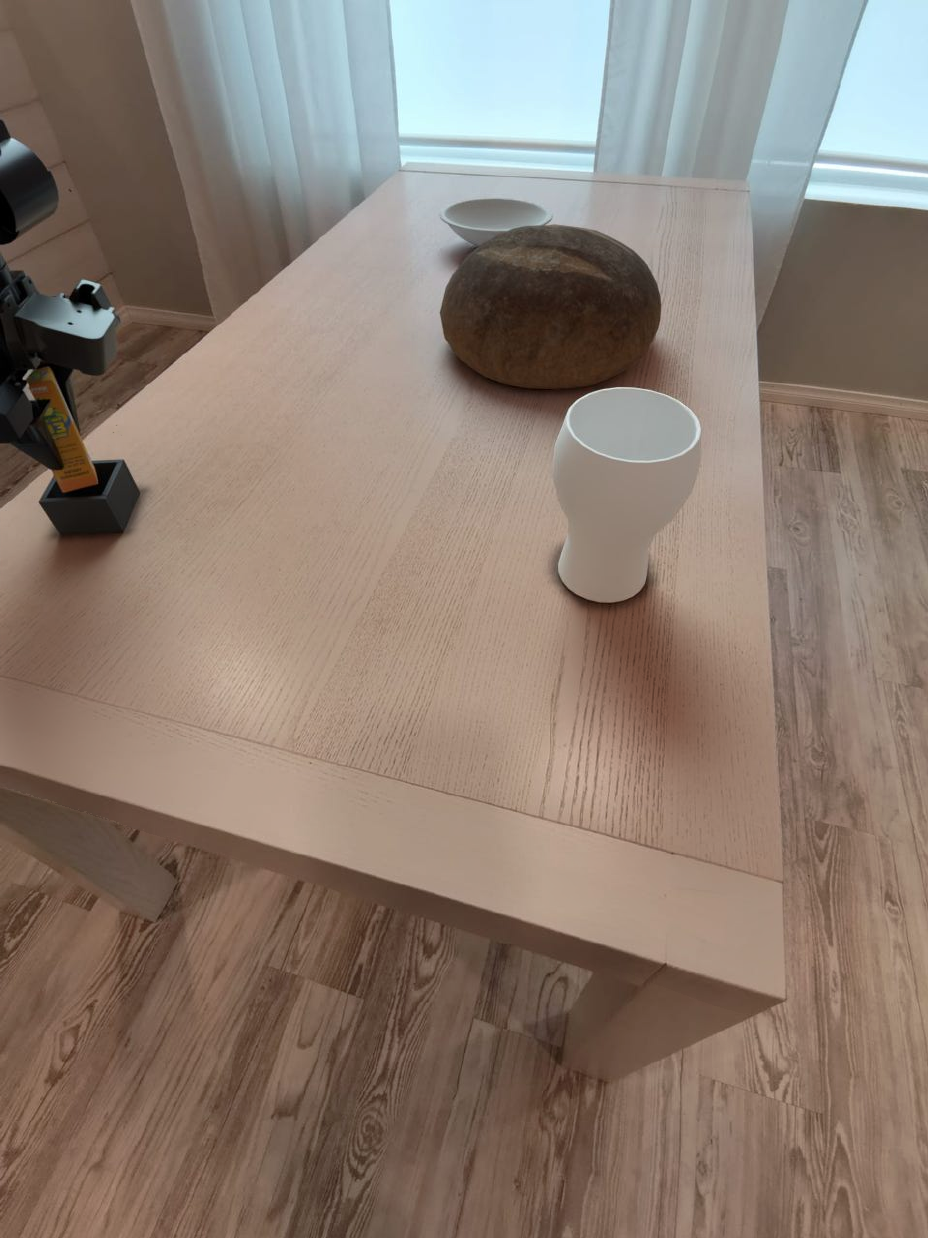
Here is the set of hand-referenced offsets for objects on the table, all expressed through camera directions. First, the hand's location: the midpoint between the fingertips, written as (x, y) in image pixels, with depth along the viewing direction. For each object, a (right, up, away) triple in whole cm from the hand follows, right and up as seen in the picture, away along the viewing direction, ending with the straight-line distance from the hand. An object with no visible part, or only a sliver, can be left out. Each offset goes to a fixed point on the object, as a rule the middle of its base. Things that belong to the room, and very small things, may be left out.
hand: (66, 454), depth 58 cm
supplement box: (0, -2, +2) cm, 3 cm away
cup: (+48, -11, -1) cm, 49 cm away
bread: (+46, +21, +26) cm, 57 cm away
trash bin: (0, -4, +5) cm, 7 cm away
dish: (+41, +45, +46) cm, 76 cm away
